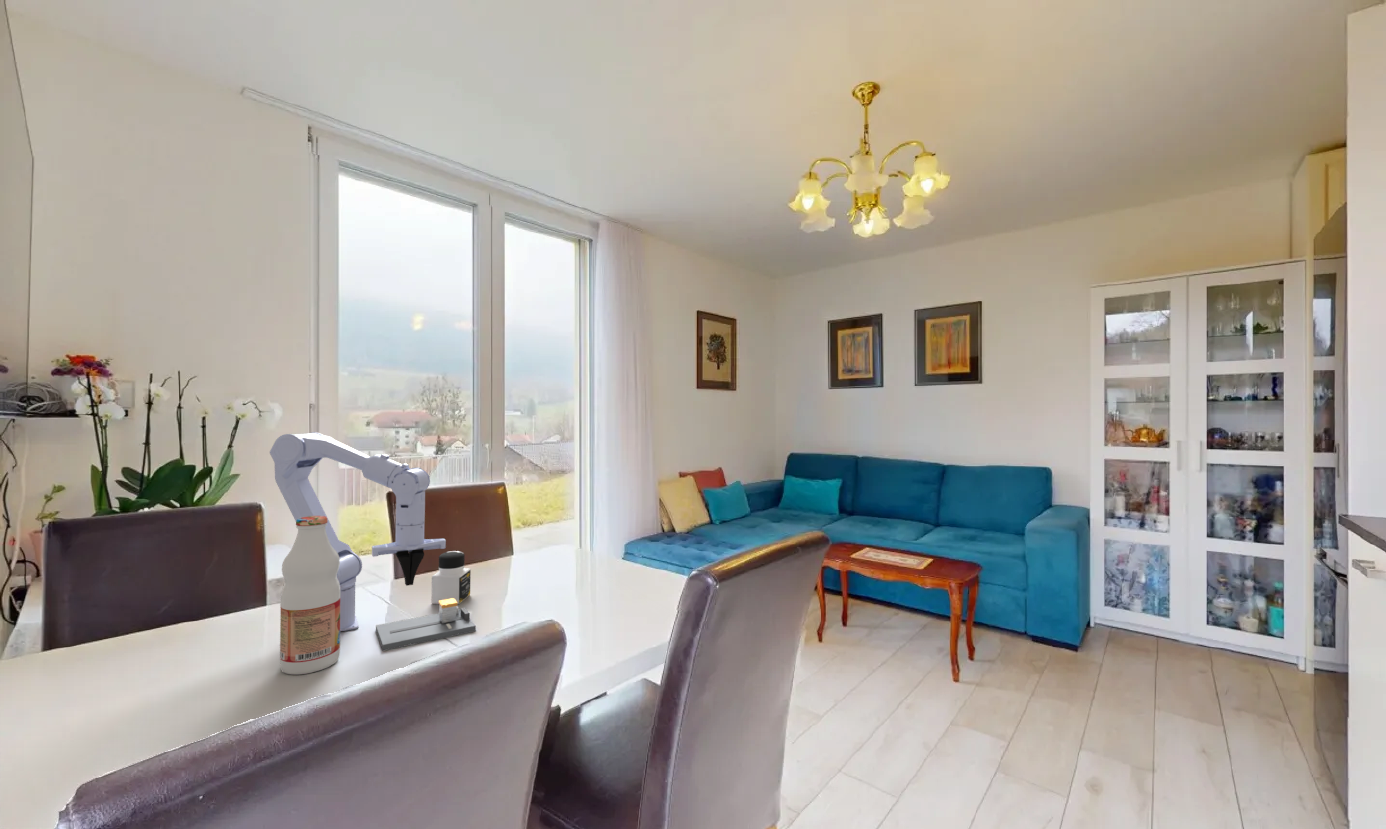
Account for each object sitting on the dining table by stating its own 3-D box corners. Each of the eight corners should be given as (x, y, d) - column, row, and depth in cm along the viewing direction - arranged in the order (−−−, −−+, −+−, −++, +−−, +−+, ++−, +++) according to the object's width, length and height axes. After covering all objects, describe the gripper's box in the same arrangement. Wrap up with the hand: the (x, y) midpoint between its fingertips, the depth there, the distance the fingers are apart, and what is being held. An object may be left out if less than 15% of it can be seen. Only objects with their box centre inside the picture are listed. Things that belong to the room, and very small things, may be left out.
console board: (382, 650, 112) (383, 636, 112) (375, 630, 122) (376, 617, 121) (475, 631, 122) (475, 617, 122) (462, 614, 132) (462, 601, 132)
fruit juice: (266, 671, 102) (268, 520, 102) (314, 650, 111) (315, 511, 111) (306, 679, 100) (308, 524, 99) (351, 656, 109) (353, 515, 108)
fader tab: (441, 623, 122) (442, 605, 122) (438, 618, 125) (438, 600, 125) (457, 620, 124) (457, 602, 124) (453, 615, 127) (453, 598, 127)
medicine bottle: (459, 604, 138) (460, 556, 138) (430, 604, 138) (431, 556, 138) (470, 595, 145) (471, 549, 145) (443, 594, 145) (443, 549, 145)
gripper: (374, 530, 116) (373, 594, 116) (449, 523, 124) (447, 583, 124) (371, 523, 121) (370, 585, 122) (442, 517, 130) (441, 575, 130)
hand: (409, 584), depth 123 cm, fingers closed
